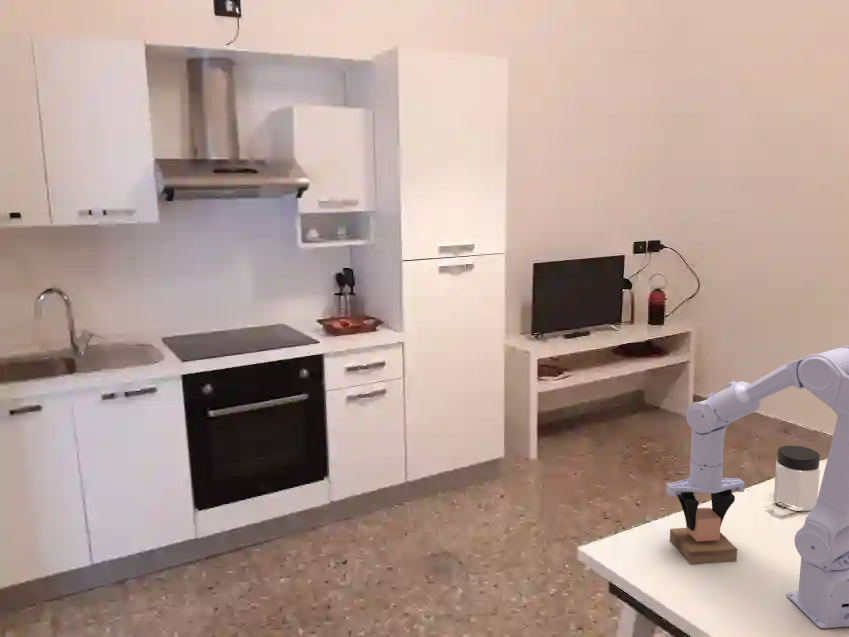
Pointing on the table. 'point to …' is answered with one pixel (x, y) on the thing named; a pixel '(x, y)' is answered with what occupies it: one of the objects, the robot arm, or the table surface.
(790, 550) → the table surface
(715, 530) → the cube
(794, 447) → the jar
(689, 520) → the robot arm
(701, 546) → the base block
